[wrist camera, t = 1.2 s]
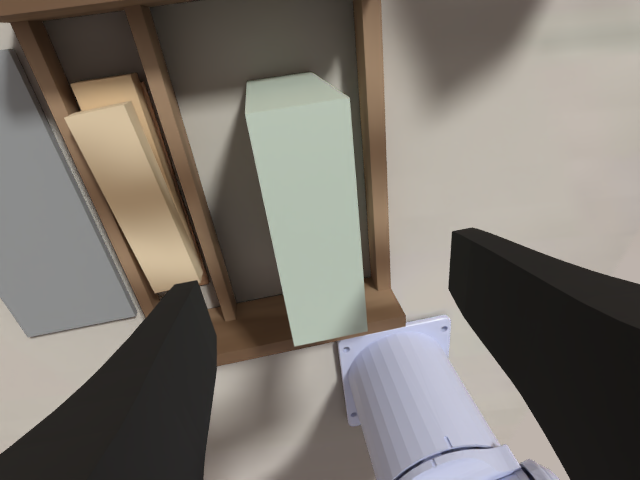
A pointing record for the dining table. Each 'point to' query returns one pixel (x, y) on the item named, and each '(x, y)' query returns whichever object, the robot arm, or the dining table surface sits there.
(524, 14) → the dining table surface
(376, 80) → the walnut rack
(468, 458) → the robot arm
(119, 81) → the middle offcut
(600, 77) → the dining table surface
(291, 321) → the sage plywood sheet
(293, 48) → the dining table surface
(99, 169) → the top offcut
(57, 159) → the grey rubber mat
